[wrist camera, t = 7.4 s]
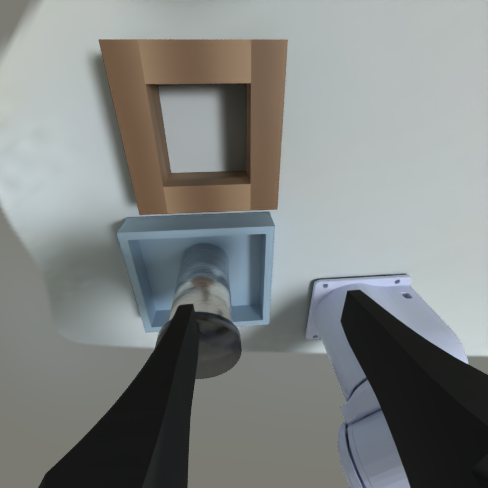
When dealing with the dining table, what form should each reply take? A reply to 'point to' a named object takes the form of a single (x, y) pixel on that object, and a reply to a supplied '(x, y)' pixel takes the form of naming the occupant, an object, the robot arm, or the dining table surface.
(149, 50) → the wooden square frame
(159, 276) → the slate-blue tray
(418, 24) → the dining table surface
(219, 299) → the glass jar
